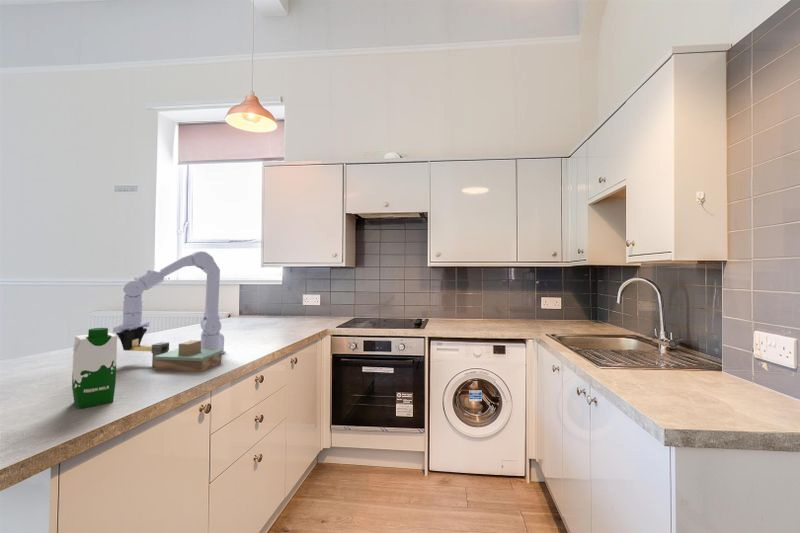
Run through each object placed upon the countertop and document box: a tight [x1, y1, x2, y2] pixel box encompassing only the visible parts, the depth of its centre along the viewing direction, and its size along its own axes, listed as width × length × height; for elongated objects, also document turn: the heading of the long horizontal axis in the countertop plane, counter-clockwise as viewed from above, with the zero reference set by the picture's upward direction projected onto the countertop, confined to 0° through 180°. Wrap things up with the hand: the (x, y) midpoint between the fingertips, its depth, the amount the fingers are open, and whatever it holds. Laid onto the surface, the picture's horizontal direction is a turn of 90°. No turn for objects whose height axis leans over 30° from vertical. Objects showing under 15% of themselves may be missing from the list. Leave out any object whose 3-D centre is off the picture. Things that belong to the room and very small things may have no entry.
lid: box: [154, 339, 223, 361], centre depth 133 cm, size 14×18×5 cm
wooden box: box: [151, 341, 222, 373], centre depth 133 cm, size 13×22×8 cm, turn 87°
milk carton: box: [71, 327, 118, 410], centre depth 97 cm, size 9×9×20 cm
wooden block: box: [123, 338, 163, 352], centre depth 134 cm, size 3×13×4 cm, turn 87°
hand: (131, 348), depth 135 cm, fingers open, 4 cm apart
